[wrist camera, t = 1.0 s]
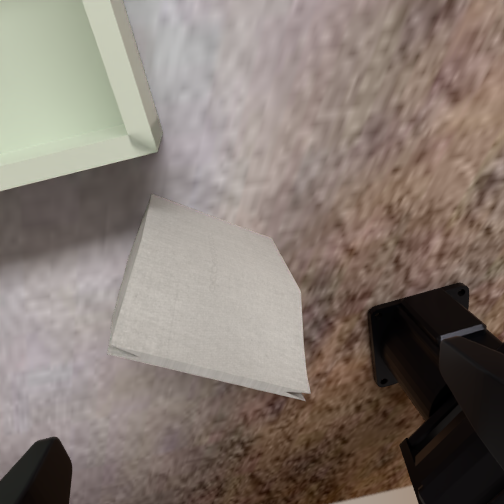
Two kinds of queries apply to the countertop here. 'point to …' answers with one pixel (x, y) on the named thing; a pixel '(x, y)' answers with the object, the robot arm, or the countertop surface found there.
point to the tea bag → (210, 303)
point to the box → (70, 90)
